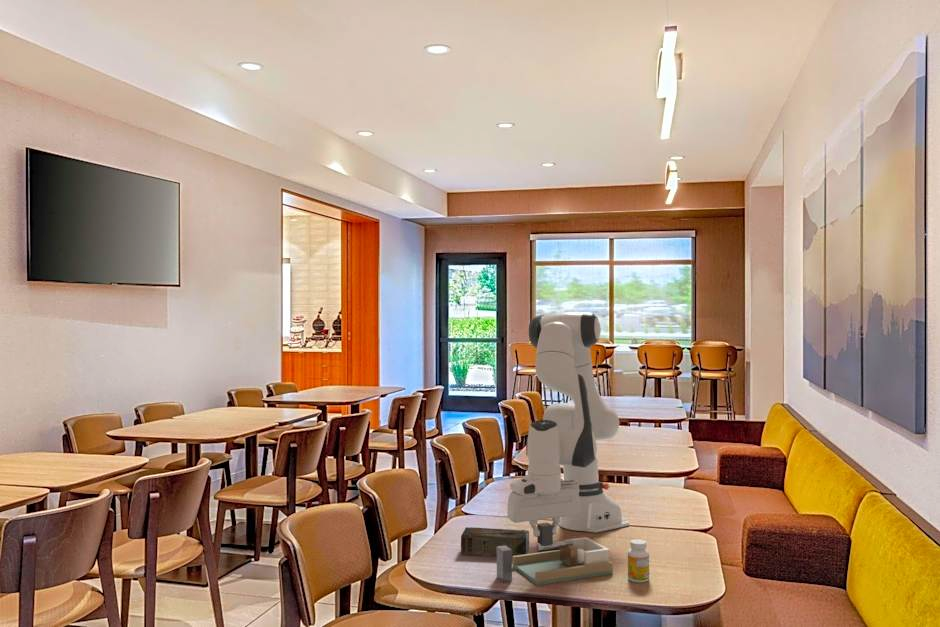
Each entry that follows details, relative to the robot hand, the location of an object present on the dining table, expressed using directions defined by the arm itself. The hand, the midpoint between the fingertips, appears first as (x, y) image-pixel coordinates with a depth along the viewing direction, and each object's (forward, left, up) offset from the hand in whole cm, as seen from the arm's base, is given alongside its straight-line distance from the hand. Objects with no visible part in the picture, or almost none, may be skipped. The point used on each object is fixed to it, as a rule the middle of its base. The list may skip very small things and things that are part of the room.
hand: (544, 535), depth 204 cm
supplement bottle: (-20, +14, -10) cm, 26 cm away
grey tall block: (+12, 0, -10) cm, 15 cm away
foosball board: (-5, 0, -10) cm, 11 cm away
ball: (-10, 0, -7) cm, 13 cm away
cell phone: (-10, -15, -11) cm, 21 cm away
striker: (-3, 0, -8) cm, 9 cm away
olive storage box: (+5, -21, -11) cm, 24 cm away
